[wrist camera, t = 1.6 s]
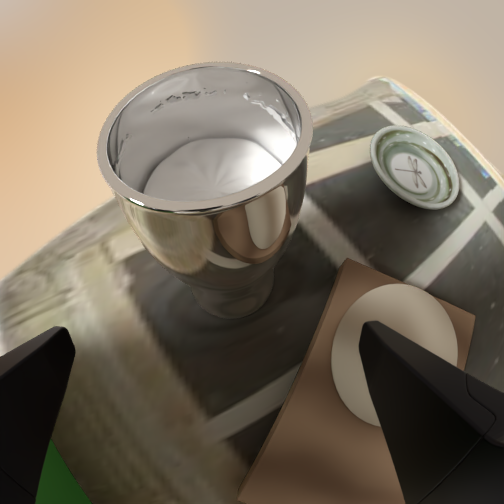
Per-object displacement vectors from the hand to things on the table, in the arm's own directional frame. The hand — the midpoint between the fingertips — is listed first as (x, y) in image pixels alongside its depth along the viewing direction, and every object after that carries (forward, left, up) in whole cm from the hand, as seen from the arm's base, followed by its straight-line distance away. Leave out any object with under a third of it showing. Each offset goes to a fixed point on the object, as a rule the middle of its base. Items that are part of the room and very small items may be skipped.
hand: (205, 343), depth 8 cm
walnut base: (0, -10, -12) cm, 16 cm away
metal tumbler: (+5, +3, -13) cm, 14 cm away
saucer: (+21, -8, -13) cm, 26 cm away
